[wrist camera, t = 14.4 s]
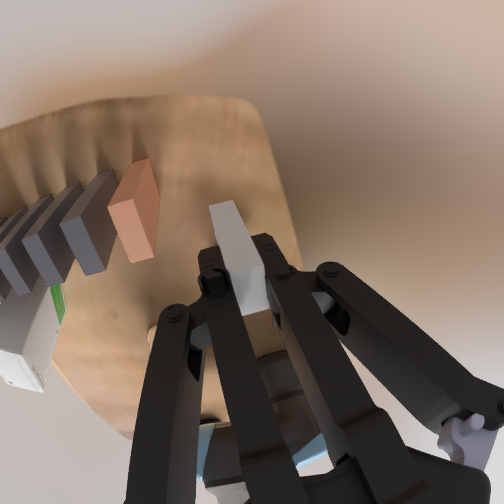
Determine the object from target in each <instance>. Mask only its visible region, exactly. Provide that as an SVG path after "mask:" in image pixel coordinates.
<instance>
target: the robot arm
mask: <svg viewBox="0 0 504 504" xmlns="http://www.w3.org/2000/svg"><path fill="white" fill-rule="evenodd" d="M209 210H210V215H211V219H212V223H213V227H214V231H215V236H216V240H217V244H218V246H214V247H210V248H206V249H203V250H200V253H199V255H198V262H199V268H200V275H199V277H198V283H199V286H200V289H201V292H202V295H201V297H200V298H199V299H198V300H197V301H196V302H195V303H193V304H191V305H189V306H185V305H183V304H172V305H170V306H168V307H166V308H165V309H164V310H163V311H162V312H161V314H160V317H159V320H158V324H157V328H156V332H155V336H154V340H153V344H152V348H151V352H150V356H149V361H148V365H147V369H146V374H145V379H144V383H143V388H142V393H141V398H140V403H139V408H138V414H137V419H136V425H135V431H134V437H133V443H132V450H131V457H130V465H129V472H128V481H127V491H126V500H125V501H124V503H123V504H195V499H196V481H197V482H201V483H202V482H203V481H204V484H205V488H206V490H207V491H208V492H210V493H212V494H214V495H215V496H216V497H217V500H218V503H219V504H489V502H490V494H491V485H490V480H489V478H488V476H487V475H486V474H485V473H484V469H485V467H486V464H487V462H488V459H489V456H490V453H491V450H492V448H493V445H494V442H495V439H496V436H497V432H498V430H499V428H501V427H502V426H504V389H503V388H500V387H498V386H495V385H493V384H491V383H488V382H486V381H483V380H481V379H479V378H476V377H474V376H473V375H472V374H471V373H470V372H469V371H468V370H467V369H465V368H464V367H463V366H462V365H461V364H460V363H459V362H458V361H457V360H456V359H455V358H453V357H452V356H451V355H450V354H449V353H448V352H447V351H446V350H444V349H443V348H442V347H441V346H440V345H439V344H438V343H437V342H435V341H434V340H433V339H432V338H431V337H430V336H429V335H427V334H426V333H425V332H424V331H423V330H422V329H420V328H419V327H418V326H417V325H416V324H415V323H413V322H412V321H411V320H410V319H409V318H407V317H406V316H405V315H404V314H403V313H401V312H400V311H399V310H398V309H397V308H395V307H394V306H393V305H392V304H391V303H389V302H388V301H387V300H386V299H384V298H383V297H382V296H381V295H379V294H378V293H377V292H376V291H374V290H373V289H372V288H371V287H369V286H368V285H367V284H366V283H364V282H363V281H362V280H361V279H359V278H358V277H357V276H355V275H354V274H353V273H352V272H350V271H349V270H348V269H347V268H345V267H344V266H343V265H341V264H339V263H337V262H324V263H322V264H320V265H319V266H318V267H317V269H316V271H315V272H314V271H313V272H302V271H298V270H297V269H296V268H295V267H294V266H291V265H289V264H288V262H287V261H286V259H285V257H284V256H283V254H282V252H281V251H280V249H279V247H278V246H277V244H276V242H275V241H274V239H273V237H272V236H270V235H268V234H267V233H263V234H259V235H255V236H251V237H250V235H249V233H248V231H247V228H246V226H245V224H244V222H243V220H242V218H241V216H240V214H239V212H238V210H237V208H236V206H235V204H234V202H233V200H230V201H226V202H221V203H217V204H213V205H209ZM269 304H270V306H271V309H272V316H273V325H274V327H275V326H277V328H278V331H279V333H280V336H281V338H282V340H283V343H284V345H285V347H286V350H287V351H281V352H276V353H272V354H269V355H266V356H264V357H262V358H260V359H258V360H256V357H255V354H254V351H253V348H252V345H251V342H250V339H249V336H248V333H247V330H246V327H245V323H244V320H243V317H242V316H245V315H248V314H252V313H256V312H259V311H263V310H266V309H269ZM338 339H339V340H340V341H341V343H342V344H344V346H345V347H346V348H347V349H348V350H349V351H350V352H351V353H352V354H353V355H354V356H355V357H356V358H357V359H358V360H359V361H360V362H361V363H362V364H363V365H364V366H365V367H366V368H367V369H368V370H369V371H370V372H371V373H372V374H373V375H374V376H375V377H376V378H377V379H378V380H379V381H380V382H381V383H382V384H383V385H384V386H385V387H386V388H387V390H388V391H390V393H391V394H392V395H393V396H395V398H396V399H397V400H398V401H399V402H400V403H401V404H402V405H403V406H404V407H405V408H406V409H407V410H408V411H409V412H410V413H411V414H412V415H413V416H414V417H415V418H416V419H417V420H418V421H419V422H420V423H421V424H422V425H424V426H425V427H426V428H428V429H429V430H431V431H432V432H434V433H436V434H438V435H439V439H438V442H437V445H438V447H439V449H442V450H444V451H445V452H446V453H448V455H449V456H450V460H451V461H448V460H446V459H442V458H439V457H436V456H433V455H430V454H428V453H425V452H422V451H419V450H416V449H414V448H411V447H408V446H405V444H404V442H403V440H402V438H401V436H400V434H399V432H398V431H397V429H396V427H395V425H394V423H393V421H392V419H391V418H390V416H389V415H388V413H387V412H386V411H385V410H384V409H382V408H379V407H377V406H376V405H375V404H374V402H373V400H372V398H371V397H370V395H369V393H368V391H367V389H366V387H365V386H364V384H363V382H362V380H361V378H360V377H359V375H358V373H357V371H356V369H355V368H354V366H353V365H352V363H351V361H350V359H349V357H348V355H347V354H346V352H345V350H344V348H343V347H342V345H341V343H340V341H339V340H338ZM210 345H212V346H213V350H214V355H215V360H216V364H217V369H218V373H219V378H220V382H221V386H222V390H223V395H224V399H225V403H226V407H227V411H228V415H229V419H230V422H224V423H213V424H211V425H205V426H199V425H200V412H201V399H202V387H203V376H204V365H205V355H206V348H207V347H209V346H210ZM327 453H328V455H329V457H330V460H331V462H332V464H333V467H334V469H333V470H331V471H330V472H328V473H326V474H319V475H312V476H303V477H300V476H299V474H298V471H297V469H298V468H300V467H303V466H305V465H307V464H309V463H311V462H313V461H315V460H317V459H319V458H320V457H322V456H324V455H325V454H327Z"/></svg>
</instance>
